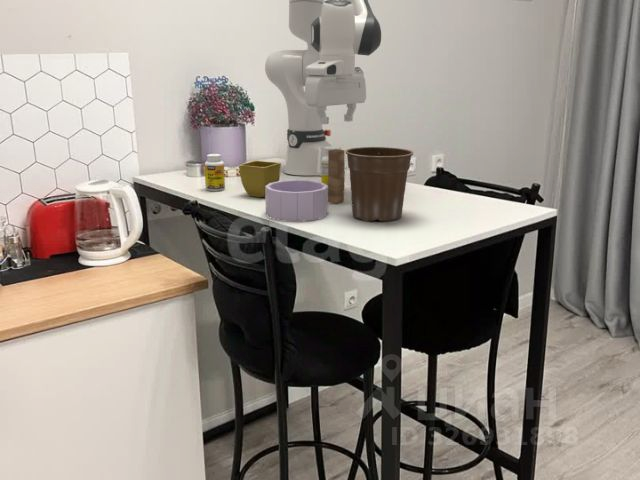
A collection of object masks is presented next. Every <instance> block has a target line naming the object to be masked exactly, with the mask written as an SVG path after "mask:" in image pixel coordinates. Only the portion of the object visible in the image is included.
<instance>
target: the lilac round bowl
mask: <svg viewBox="0 0 640 480" xmlns="http://www.w3.org/2000/svg"><path fill="white" fill-rule="evenodd" d="M264 198H265V200H264V201H265V215H266V214H267V215H268V216H269V217H271V218H270V219H272V218H275V219H274V220H276V219H279V220H278V221H280V220H286V221H285V222H294V221H300V222H304V221H303V220H313V221H315V219H317V220H319V218H320V219H323V218H324V219H325V217H326V216H327V215H329V203H328V186H327V185H326V184H324V183H321V181H316V180H315V181H314V180H305V179H304V180H300V179H290V180H287V179H286V180H279V181H278V182H273V183H269V184H268V185H266V186H265V197H264ZM267 215H266V216H267ZM268 216H267V217H268ZM269 217H268V218H269Z"/></svg>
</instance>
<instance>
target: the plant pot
mask: <svg viewBox="0 0 640 480" xmlns="http://www.w3.org/2000/svg"><path fill="white" fill-rule="evenodd" d="M345 154H346V156H347V157H346V158H347V169H349V177H350V181H349V182H350V196H351V198H350V199H351V214H352V217H354V218H356V219H358V220H362V221H369V222H374V221H376V220H378V221H380V222H392V221H397V220H399V219H401V218H402V214H403V208H404V207H403V206H404V201H405V191H406V187H407V178H408V173H409V172H408V171H409V170H410V167H411V159H412V156H413V155H414V151H412V150H409V149H406V148H400V147H399V148H398V147H389V146H386V147H384V146H365V147H364V146H363V147H361V146H360V147H351V148H348V149H346V150H345Z"/></svg>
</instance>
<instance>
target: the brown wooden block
mask: <svg viewBox="0 0 640 480" xmlns="http://www.w3.org/2000/svg"><path fill="white" fill-rule="evenodd" d="M345 151H346V150H345V149H341V150H339V149H334V150H328V204H329V203H330V204H335V205H339V204H343V203H345V187H344V160H345V154H346V152H345Z"/></svg>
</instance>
